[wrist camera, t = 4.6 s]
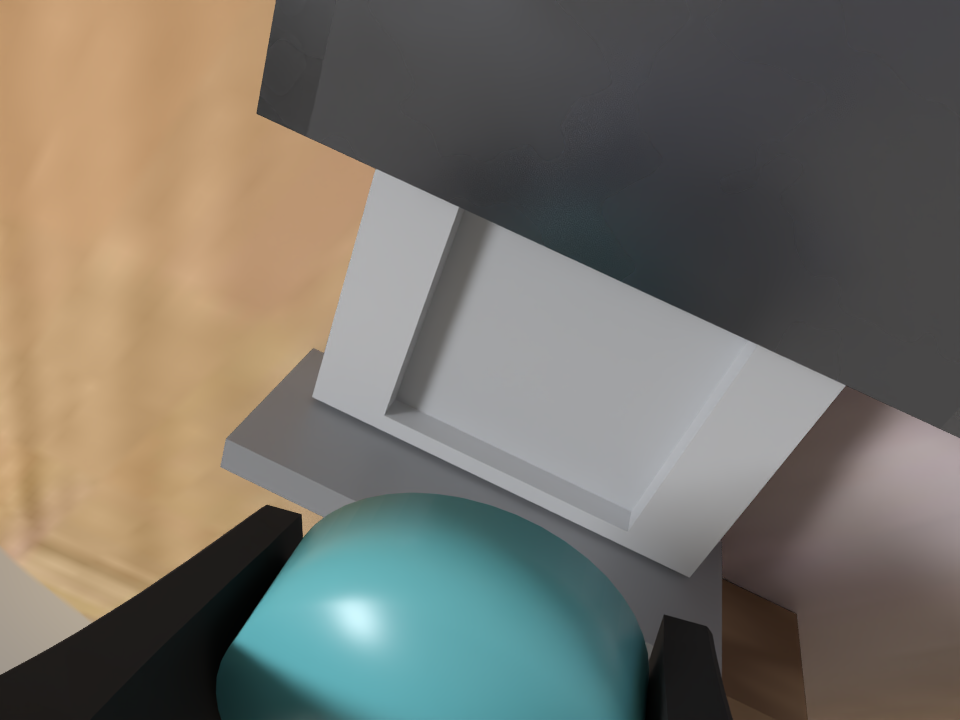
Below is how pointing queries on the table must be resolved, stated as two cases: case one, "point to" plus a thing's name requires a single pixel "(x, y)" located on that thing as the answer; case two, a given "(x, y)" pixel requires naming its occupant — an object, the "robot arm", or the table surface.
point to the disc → (435, 623)
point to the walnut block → (760, 658)
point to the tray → (533, 403)
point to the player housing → (679, 154)
